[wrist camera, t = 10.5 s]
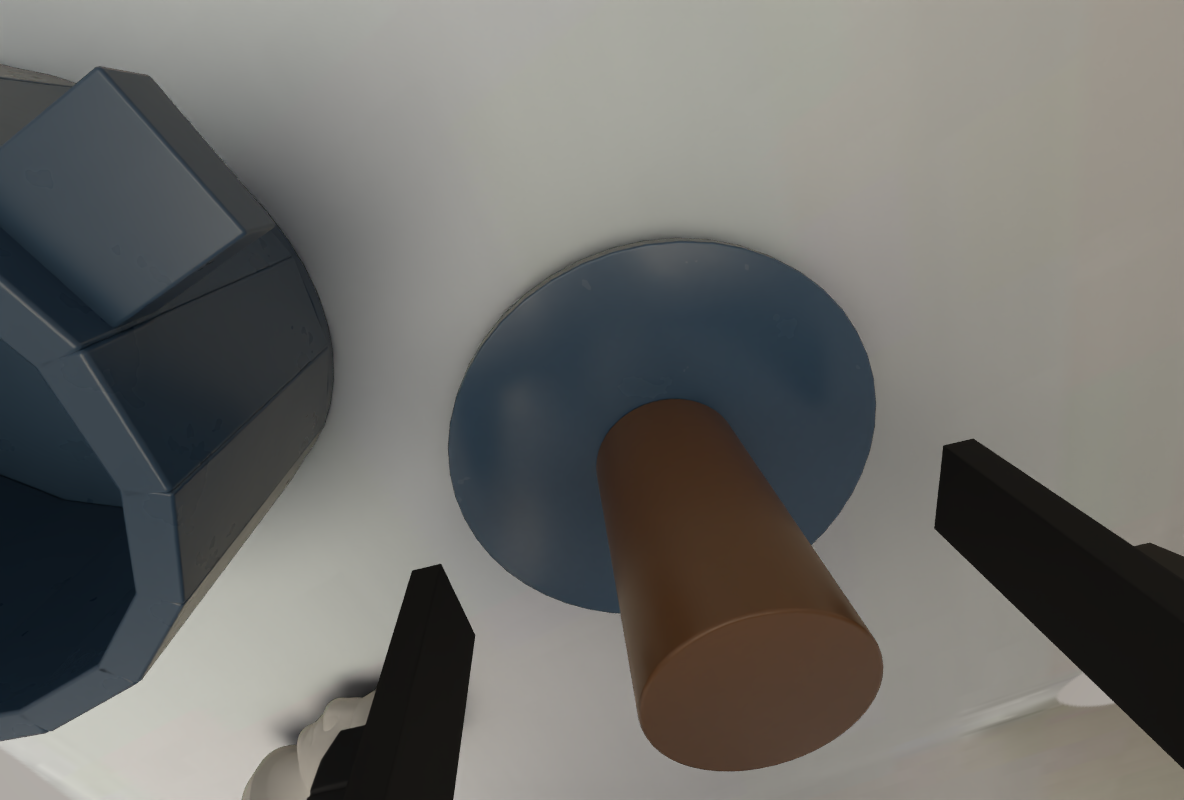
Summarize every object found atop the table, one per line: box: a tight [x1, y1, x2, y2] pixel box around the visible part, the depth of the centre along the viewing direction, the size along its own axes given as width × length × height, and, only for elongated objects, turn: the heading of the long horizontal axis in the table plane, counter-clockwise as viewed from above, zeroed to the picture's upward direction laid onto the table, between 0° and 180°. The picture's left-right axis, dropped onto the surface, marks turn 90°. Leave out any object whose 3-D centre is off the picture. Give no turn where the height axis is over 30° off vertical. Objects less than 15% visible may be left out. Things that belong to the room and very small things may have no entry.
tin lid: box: [448, 238, 883, 771], centre depth 14 cm, size 14×14×9 cm
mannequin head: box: [242, 690, 376, 800], centre depth 21 cm, size 4×8×5 cm
